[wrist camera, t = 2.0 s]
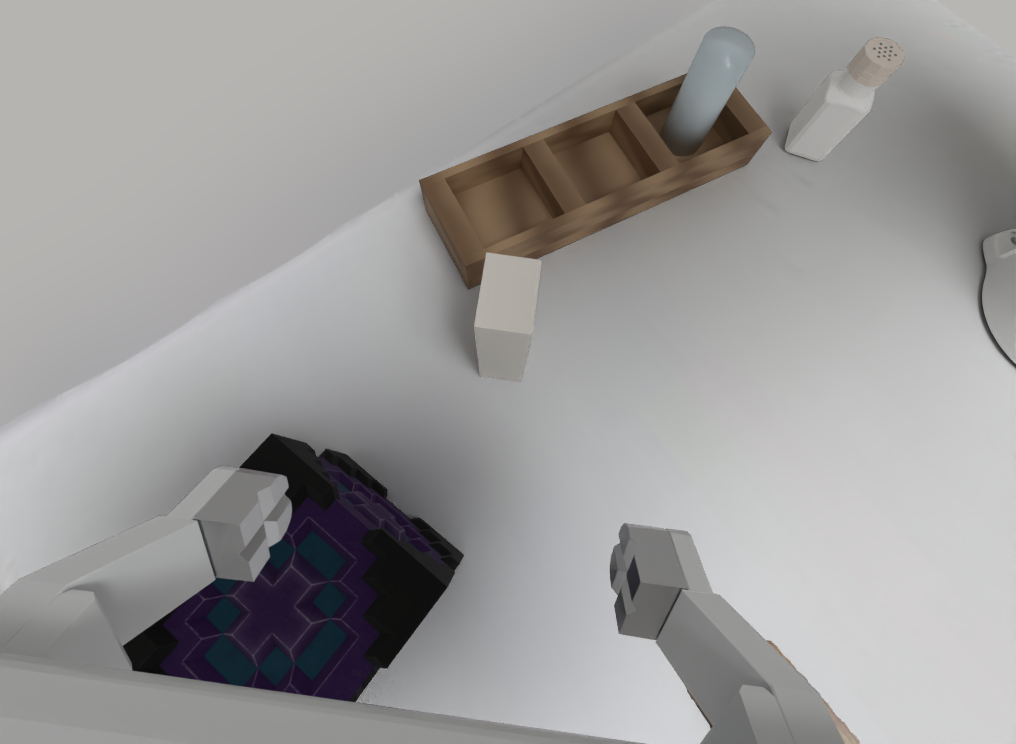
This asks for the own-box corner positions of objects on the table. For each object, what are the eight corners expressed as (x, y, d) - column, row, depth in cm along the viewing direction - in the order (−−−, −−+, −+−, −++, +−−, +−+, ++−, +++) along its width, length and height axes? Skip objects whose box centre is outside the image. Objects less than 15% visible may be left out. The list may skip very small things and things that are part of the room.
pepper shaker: (826, 135, 44) (912, 41, 35) (819, 165, 43) (907, 77, 34) (788, 123, 45) (863, 27, 36) (780, 153, 44) (856, 61, 34)
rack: (696, 99, 45) (715, 62, 41) (747, 164, 43) (771, 131, 39) (426, 210, 40) (419, 180, 37) (468, 289, 38) (465, 266, 35)
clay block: (528, 326, 38) (542, 260, 27) (521, 381, 36) (532, 334, 26) (488, 320, 38) (486, 252, 27) (479, 375, 36) (473, 326, 26)
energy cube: (351, 704, 30) (261, 836, 18) (229, 586, 32) (77, 638, 20) (464, 555, 33) (447, 587, 21) (346, 454, 34) (271, 433, 23)
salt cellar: (685, 117, 43) (734, 20, 34) (709, 147, 42) (765, 55, 33) (651, 131, 42) (692, 36, 33) (674, 162, 41) (722, 73, 32)
